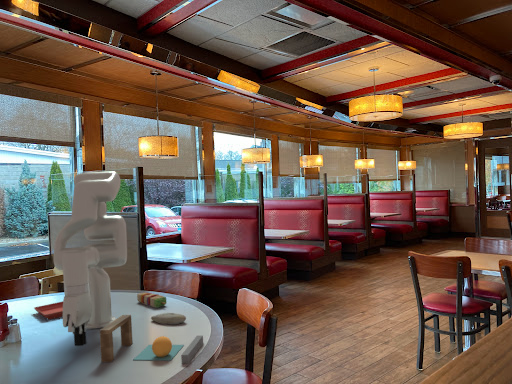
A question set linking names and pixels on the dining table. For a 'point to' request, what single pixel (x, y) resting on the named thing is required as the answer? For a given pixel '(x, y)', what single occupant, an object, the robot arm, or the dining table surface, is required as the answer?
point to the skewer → (151, 299)
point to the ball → (161, 346)
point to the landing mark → (149, 355)
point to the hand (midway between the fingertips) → (80, 344)
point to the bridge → (107, 336)
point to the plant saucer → (51, 310)
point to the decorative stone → (169, 318)
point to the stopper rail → (191, 349)
